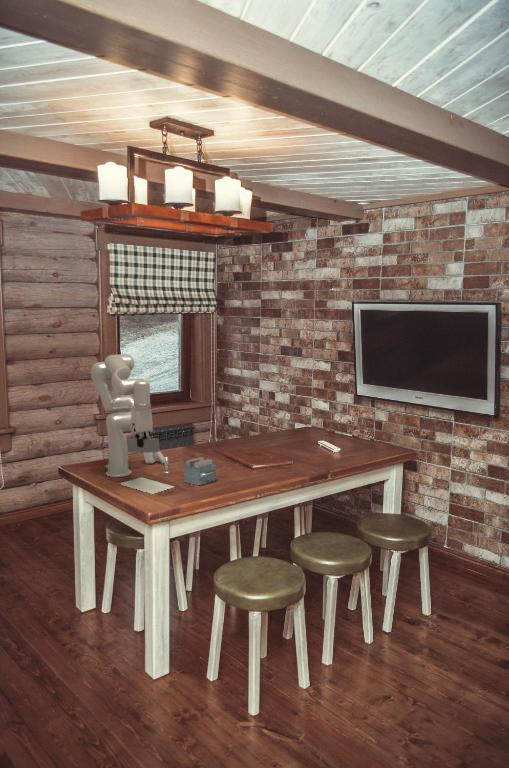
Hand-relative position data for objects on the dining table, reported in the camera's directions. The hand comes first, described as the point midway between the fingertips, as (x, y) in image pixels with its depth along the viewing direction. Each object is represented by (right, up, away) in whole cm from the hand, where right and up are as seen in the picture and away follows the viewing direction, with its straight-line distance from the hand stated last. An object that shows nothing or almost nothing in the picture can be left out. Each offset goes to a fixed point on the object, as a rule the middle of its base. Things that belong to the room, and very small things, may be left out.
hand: (142, 446), depth 276 cm
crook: (+3, -2, +2) cm, 4 cm away
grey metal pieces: (+18, -18, +20) cm, 32 cm away
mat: (+1, -20, +6) cm, 20 cm away
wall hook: (-1, -14, +47) cm, 49 cm away
